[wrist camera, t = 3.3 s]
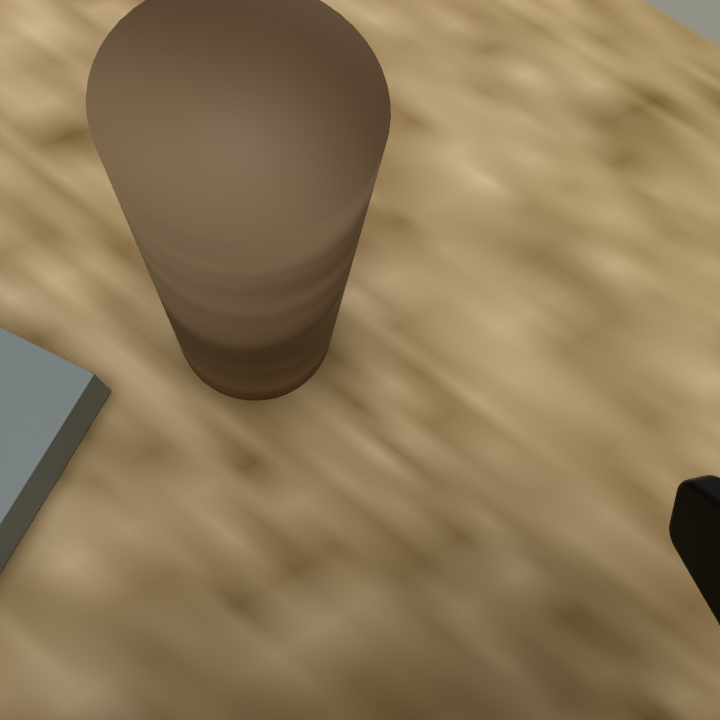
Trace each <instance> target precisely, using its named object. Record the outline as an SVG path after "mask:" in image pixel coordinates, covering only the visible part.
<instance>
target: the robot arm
mask: <svg viewBox="0 0 720 720" xmlns="http://www.w3.org/2000/svg"><path fill="white" fill-rule="evenodd" d="M669 532H670V537H671V540H672V543H673V545H674V547H675V549H676V550H677V552H678V554H679V556H680V557H681V559H682V561H683V563H684V564H685V566H686V568H687V569H688V571H689V573H690V575H691V576H692V578H693V580H694V582H695V583H696V585H697V587H698V588H699V590H700V592H701V594H702V595H703V597H704V599H705V601H706V602H707V604H708V606H709V608H710V609H711V611H712V613H713V614H714V616H715V618H716V620H717V621H718V623H719V625H720V478H719V477H716V476H712V475H706V476H701V477H697V478H692V479H688V480H685V481H683V482H682V483H681V484H680V485H679V486H678V489H677V493H676V497H675V502H674V506H673V511H672V515H671V520H670V525H669Z"/></svg>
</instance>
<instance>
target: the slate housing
mask: <svg viewBox="0 0 720 720" xmlns="http://www.w3.org/2000/svg"><path fill="white" fill-rule="evenodd" d="M110 392H111V390H110V389H109V388H108V387H107V386H106V385H105V384H104V383H103V382H102V381H101V380H100V379H99V378H98V377H97V376H96V375H95V374H93V373H91V372H89V371H87V370H85V369H83V368H81V367H79V366H77V365H75V364H73V363H71V362H69V361H67V360H65V359H63V358H61V357H59V356H57V355H55V354H53V353H51V352H49V351H47V350H45V349H43V348H41V347H39V346H37V345H35V344H33V343H31V342H29V341H27V340H25V339H23V338H21V337H19V336H17V335H15V334H13V333H11V332H9V331H7V330H5V329H3V328H1V327H0V572H1V571H2V569H3V567H4V566H5V564H6V563H7V561H8V559H9V558H10V556H11V554H12V553H13V551H14V549H15V548H16V546H17V545H18V543H19V541H20V540H21V538H22V536H23V535H24V533H25V531H26V530H27V528H28V527H29V525H30V523H31V522H32V520H33V518H34V517H35V515H36V513H37V512H38V510H39V509H40V507H41V505H42V504H43V502H44V500H45V499H46V497H47V495H48V494H49V492H50V491H51V489H52V487H53V486H54V484H55V482H56V481H57V479H58V478H59V476H60V474H61V473H62V471H63V469H64V468H65V466H66V464H67V463H68V461H69V460H70V458H71V456H72V455H73V453H74V451H75V450H76V448H77V446H78V445H79V443H80V442H81V440H82V438H83V437H84V435H85V433H86V432H87V430H88V428H89V427H90V425H91V424H92V422H93V420H94V419H95V417H96V415H97V414H98V412H99V410H100V409H101V407H102V406H103V404H104V402H105V401H106V399H107V397H108V396H109V394H110Z"/></svg>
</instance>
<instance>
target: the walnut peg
mask: <svg viewBox="0 0 720 720" xmlns="http://www.w3.org/2000/svg"><path fill="white" fill-rule="evenodd" d="M86 109H87V119H88V123H89V128H90V133H91V136H92V138H93V141H94V144H95V146H96V149H97V151H98V154H99V156H100V158H101V161H102V163H103V165H104V168H105V170H106V172H107V175H108V177H109V180H110V182H111V184H112V187H113V189H114V191H115V194H116V196H117V198H118V201H119V203H120V205H121V208H122V210H123V212H124V215H125V217H126V219H127V222H128V224H129V227H130V229H131V231H132V234H133V236H134V238H135V241H136V243H137V245H138V248H139V250H140V252H141V255H142V257H143V259H144V262H145V264H146V266H147V269H148V271H149V274H150V276H151V278H152V281H153V283H154V285H155V288H156V290H157V292H158V295H159V297H160V299H161V302H162V304H163V306H164V309H165V311H166V313H167V316H168V318H169V321H170V323H171V325H172V328H173V330H174V332H175V335H176V337H177V339H178V342H179V344H180V346H181V349H182V351H183V353H184V356H185V358H186V360H187V362H188V363H189V365H190V367H191V368H192V369H193V371H194V372H195V373H196V374H197V376H198V377H199V378H200V379H201V380H202V381H204V382H205V383H206V384H208V385H209V386H210V387H212V388H213V389H215V390H217V391H219V392H221V393H223V394H225V395H228V396H231V397H235V398H238V399H245V400H265V399H271V398H275V397H279V396H282V395H284V394H287V393H289V392H291V391H293V390H295V389H297V388H298V387H300V386H301V385H302V384H304V383H305V382H306V381H307V380H308V379H309V378H310V377H311V376H312V375H313V374H314V373H315V372H316V370H317V369H318V368H319V366H320V365H321V363H322V361H323V360H324V357H325V355H326V353H327V350H328V346H329V343H330V339H331V336H332V332H333V329H334V325H335V322H336V318H337V315H338V311H339V308H340V304H341V300H342V297H343V293H344V290H345V286H346V283H347V279H348V276H349V272H350V269H351V265H352V262H353V258H354V255H355V251H356V248H357V244H358V241H359V237H360V234H361V230H362V227H363V223H364V220H365V216H366V213H367V209H368V205H369V202H370V198H371V195H372V191H373V188H374V184H375V181H376V177H377V174H378V170H379V167H380V163H381V160H382V156H383V153H384V149H385V146H386V142H387V138H388V135H389V127H390V119H391V113H390V98H389V92H388V86H387V83H386V80H385V77H384V74H383V71H382V68H381V66H380V64H379V62H378V60H377V58H376V56H375V54H374V52H373V51H372V49H371V48H370V46H369V45H368V43H367V42H366V40H365V39H364V38H363V37H362V36H361V34H360V33H359V32H358V31H357V30H356V29H355V27H354V26H353V25H352V24H350V23H349V22H348V21H347V20H346V19H345V18H344V17H343V16H342V15H341V14H339V13H338V12H336V11H335V10H334V9H332V8H331V7H329V6H328V5H327V4H325V3H323V2H322V1H320V0H146V1H144V2H143V3H141V4H140V5H138V6H137V7H135V8H134V9H132V10H131V11H130V12H129V13H128V14H127V15H126V16H125V17H123V18H122V19H121V20H120V21H119V22H118V23H117V25H116V26H115V27H114V28H113V29H112V30H111V32H110V33H109V34H108V35H107V37H106V39H105V40H104V42H103V43H102V45H101V46H100V48H99V50H98V52H97V55H96V57H95V59H94V61H93V64H92V67H91V71H90V74H89V78H88V83H87V93H86Z"/></svg>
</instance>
